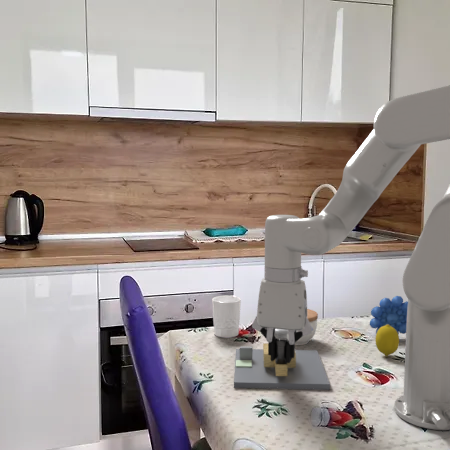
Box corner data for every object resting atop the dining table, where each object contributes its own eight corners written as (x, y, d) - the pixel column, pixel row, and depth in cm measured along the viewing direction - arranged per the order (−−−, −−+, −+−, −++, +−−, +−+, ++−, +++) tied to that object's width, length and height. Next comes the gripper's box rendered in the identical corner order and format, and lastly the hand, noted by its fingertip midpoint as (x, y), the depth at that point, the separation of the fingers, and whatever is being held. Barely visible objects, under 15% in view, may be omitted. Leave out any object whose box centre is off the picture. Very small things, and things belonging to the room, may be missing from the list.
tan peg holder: (298, 378, 108) (299, 341, 107) (264, 378, 108) (265, 341, 107) (292, 356, 121) (293, 323, 120) (263, 355, 121) (263, 322, 120)
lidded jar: (284, 349, 131) (284, 313, 130) (271, 336, 141) (272, 302, 140) (323, 346, 133) (324, 311, 132) (308, 333, 143) (309, 300, 142)
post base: (329, 389, 107) (330, 345, 106) (233, 387, 108) (234, 343, 107) (316, 354, 127) (317, 317, 126) (236, 353, 128) (236, 315, 127)
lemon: (380, 350, 130) (381, 319, 129) (401, 355, 127) (403, 324, 126) (371, 356, 126) (372, 325, 125) (393, 362, 122) (394, 329, 122)
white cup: (243, 330, 146) (243, 296, 145) (237, 339, 138) (237, 303, 137) (216, 328, 148) (216, 294, 147) (209, 337, 140) (209, 301, 139)
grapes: (413, 336, 141) (415, 293, 140) (414, 344, 135) (416, 299, 134) (369, 331, 145) (371, 290, 144) (368, 339, 139) (370, 295, 137)
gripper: (324, 273, 108) (322, 357, 110) (249, 268, 113) (248, 349, 115) (319, 280, 101) (317, 371, 103) (240, 275, 106) (239, 361, 108)
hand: (281, 358), depth 109 cm, fingers closed on tan peg holder, 2 cm apart
